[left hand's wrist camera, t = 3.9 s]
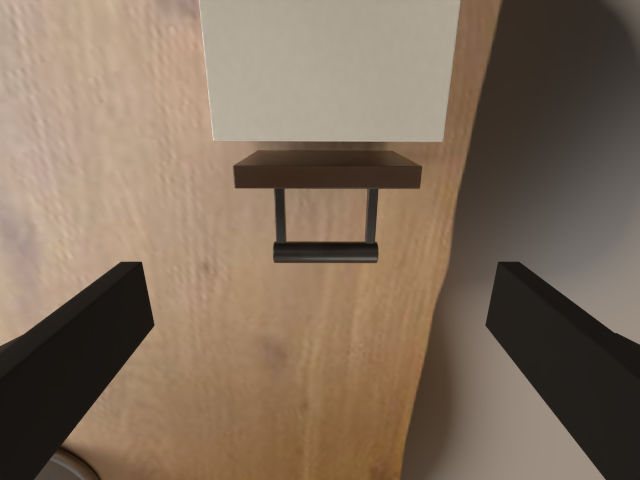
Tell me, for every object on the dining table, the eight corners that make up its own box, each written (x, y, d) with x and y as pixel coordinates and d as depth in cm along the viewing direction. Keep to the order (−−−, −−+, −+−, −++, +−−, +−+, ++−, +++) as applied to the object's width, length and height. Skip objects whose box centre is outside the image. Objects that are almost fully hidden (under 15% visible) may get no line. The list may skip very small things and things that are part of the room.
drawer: (385, 238, 27) (409, 282, 20) (262, 237, 27) (242, 282, 20) (414, -135, 19) (470, -280, 12) (240, -136, 19) (194, -282, 12)
